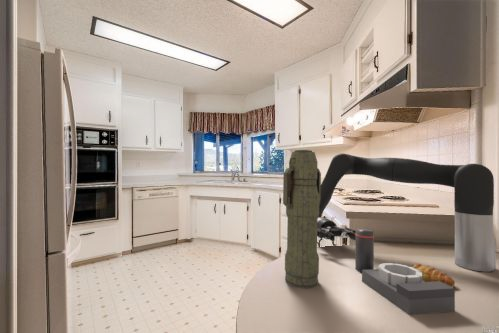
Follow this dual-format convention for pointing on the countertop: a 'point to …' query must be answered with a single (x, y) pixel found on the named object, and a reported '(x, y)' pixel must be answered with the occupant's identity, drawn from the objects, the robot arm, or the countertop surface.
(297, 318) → the countertop surface
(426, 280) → the pastry
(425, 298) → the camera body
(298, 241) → the thermos
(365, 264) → the lens
